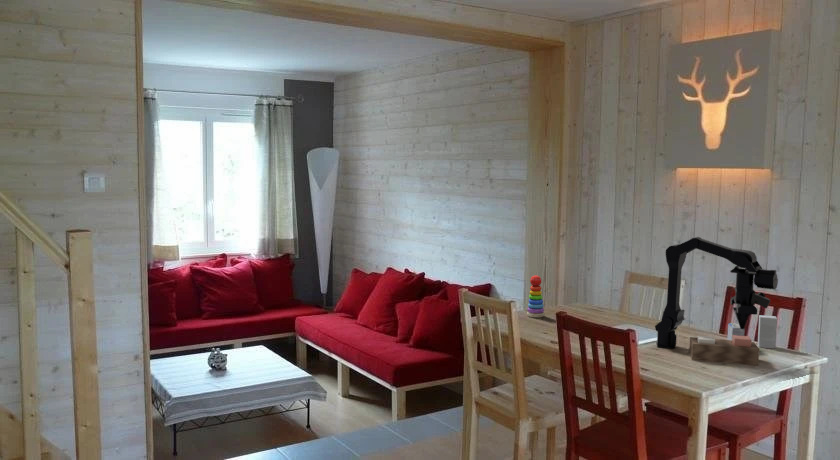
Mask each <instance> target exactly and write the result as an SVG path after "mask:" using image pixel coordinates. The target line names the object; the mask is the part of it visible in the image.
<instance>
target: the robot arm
mask: <svg viewBox="0 0 840 460" xmlns="http://www.w3.org/2000/svg"><path fill="white" fill-rule="evenodd" d="M694 250H699V251H702V252H706V253H709V254H711V255H714V256H717V257H720V258H722V259H726V260H727V261H729V262H730V263H731V264H733V265H735V266H734V267H733V268H732V269H731V270H730V273H731V274H732V273H734V274H736V277H735V278H736V279H735V286H734V292H735V294H734V296H731V298H730V305H731V306H734V305H735V306H734V307H732V309H733V312H734V315H735V317H736V320H737V324H739V326H740V328H741V329H744V330H745V326H746V323H747V321H748V319H749V318H748V317H749V316H750V315H758V308H757V307H756V306H755V305H759V306H760V307H762V308H764V309H768V307H769V305H770V303H771V299H770V298H768V297H766V294H765V293H764V292H762V291H759V292H758V293H756V290H755V289H754V286H756V288H758V289H768V290H776V289H777V288H778V283H779V278H778V274H777V269H764V268H763V267H762V265H761V264H760V263H759V261H758V258H757V255H756V253H755V252H754V251H752V250H747V249H740V248H731V247H728V246H725V245H722V244H719V243H716V242H714V241H709V240H707V239H704V238H701V237H699V236H695V237H691V238H690V239H688V240H687V241H683V242H682V243H680V244H679V243H678V244H672V245H670V246H668V247H667V248H666V250H665V261H666V264H667V267H668V276H667V277H668V278H667V279H668V280H667V291H666V292H667V296H666V305H665V307H664V310H663V312H662V315H661V320H660V322H658V323H657V324H655V326H654V328H655V331H656V333H657V334H656V336H657V337H656V347H657V348H665V349H676V346H677V338H678V337H677V334H676V330H677V329H678V327H679V326H680V325H682V323H683V321H685V316H684V315H685V309H682V308H681V305H680V300H681V299H680V297H681V283H682V269H683V266H684V264H685V262H686V258H687V254H689V253H691V252H693V251H694Z"/></svg>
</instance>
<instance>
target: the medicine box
mask: <svg viewBox="0 0 840 460" xmlns="http://www.w3.org/2000/svg"><path fill="white" fill-rule="evenodd" d="M733 335H738V336H745V328H744V329H741V328H740V326H739V323H734V322H733V323H730V322H729V323H728V325H727V337H726V338H727V339H726V340H732V336H733Z"/></svg>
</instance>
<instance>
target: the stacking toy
mask: <svg viewBox="0 0 840 460" xmlns="http://www.w3.org/2000/svg"><path fill="white" fill-rule="evenodd" d="M529 281H530V284H531V286H530V291H529V296H528V298H529V299H528V305H527V306H528V307H527V312H526V315H527V317H530V318H543V317H544V316H545V309H544V300H543V295H542V294H543V292H542V286H541V284H542V278H541V276H539V275H532V276H531V277H530V280H529Z"/></svg>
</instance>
